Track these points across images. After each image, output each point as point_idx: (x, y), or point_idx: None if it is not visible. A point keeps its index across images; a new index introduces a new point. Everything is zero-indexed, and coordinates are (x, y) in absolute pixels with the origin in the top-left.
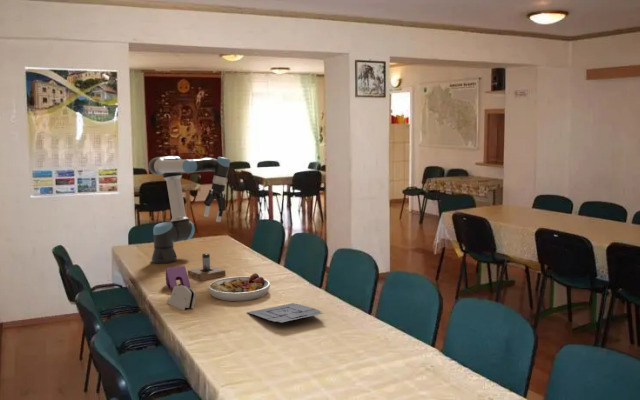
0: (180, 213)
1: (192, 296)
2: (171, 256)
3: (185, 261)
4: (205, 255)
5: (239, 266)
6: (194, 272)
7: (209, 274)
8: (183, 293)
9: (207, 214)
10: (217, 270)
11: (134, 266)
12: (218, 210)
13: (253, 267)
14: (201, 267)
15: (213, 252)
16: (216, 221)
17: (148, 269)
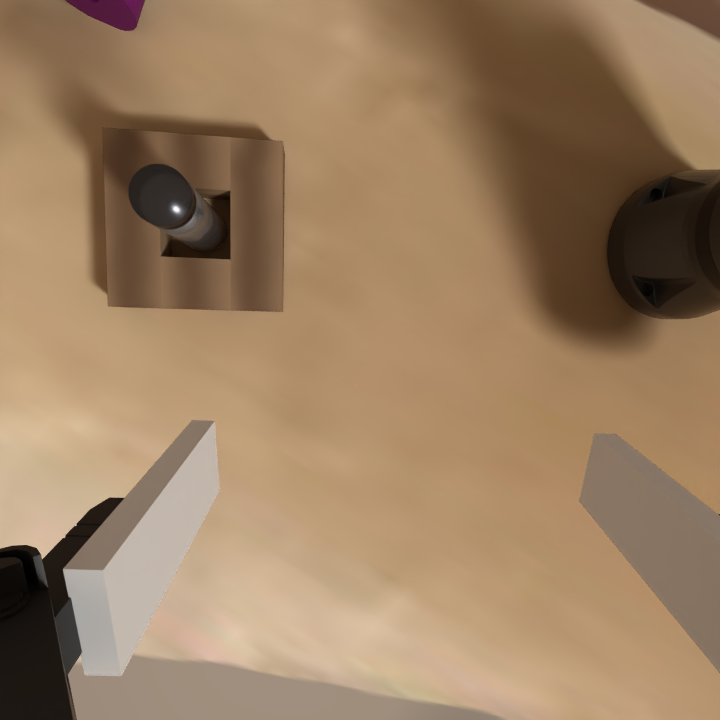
0: None
1: None
2: (637, 253)
3: (575, 327)
4: (136, 174)
5: (251, 482)
6: (198, 136)
7: (107, 188)
8: None
9: (607, 506)
10: (138, 268)
11: (686, 56)
12: (19, 548)
13: None
14: (281, 241)
15: None
16: (196, 421)
17: (570, 73)
